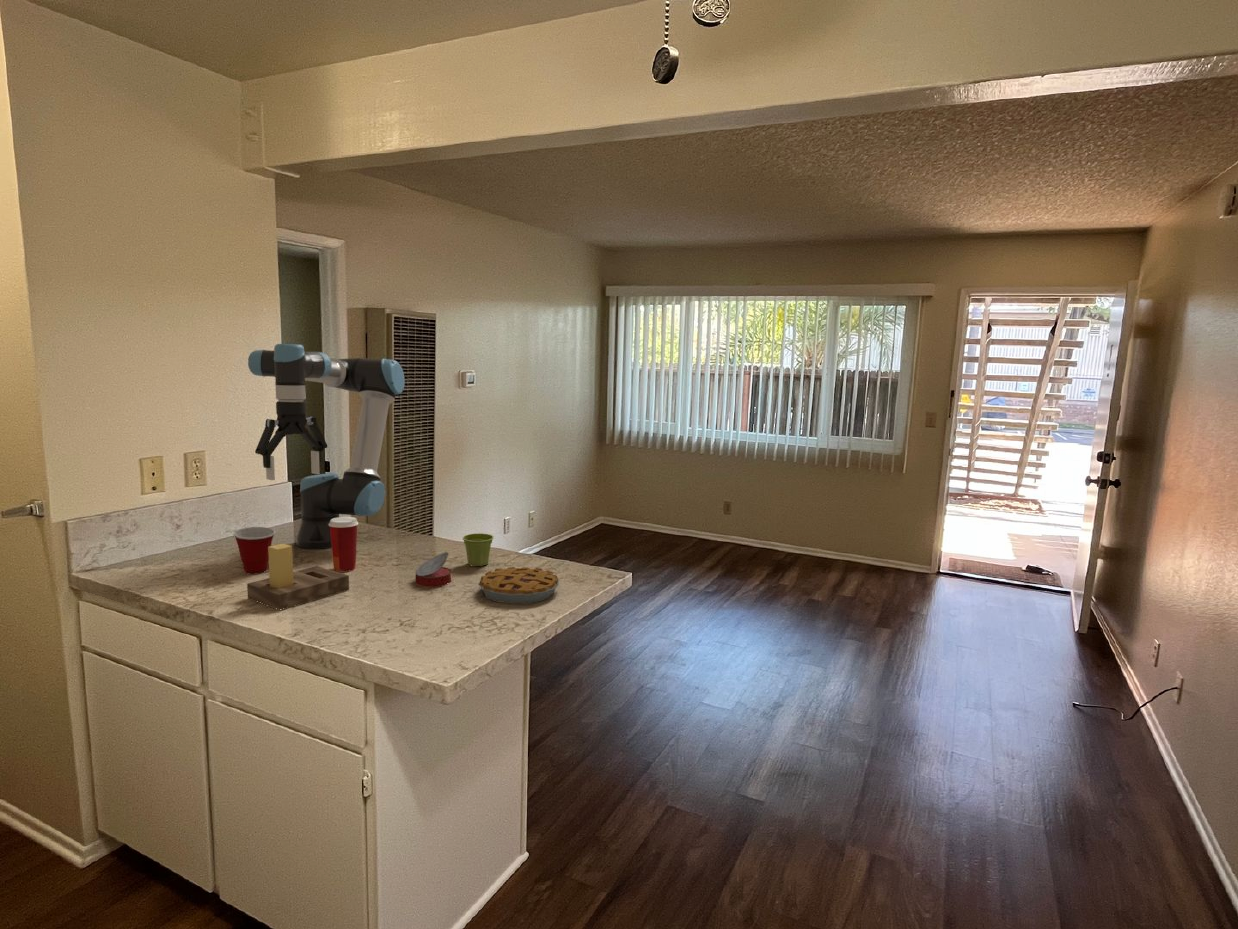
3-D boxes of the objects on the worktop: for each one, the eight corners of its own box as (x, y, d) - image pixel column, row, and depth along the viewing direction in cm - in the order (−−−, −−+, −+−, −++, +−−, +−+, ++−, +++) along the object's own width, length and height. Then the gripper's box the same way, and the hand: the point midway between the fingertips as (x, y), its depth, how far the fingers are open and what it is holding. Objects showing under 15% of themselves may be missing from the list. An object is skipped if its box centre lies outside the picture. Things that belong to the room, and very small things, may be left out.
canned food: (443, 602, 198) (439, 577, 192) (410, 594, 200) (405, 569, 194) (460, 573, 207) (456, 549, 201) (428, 567, 209) (424, 542, 203)
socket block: (317, 579, 199) (316, 566, 198) (349, 589, 191) (348, 575, 191) (247, 598, 182) (247, 583, 182) (279, 610, 175) (278, 594, 174)
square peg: (284, 595, 185) (282, 543, 183) (294, 598, 183) (292, 546, 181) (270, 599, 182) (268, 546, 180) (279, 602, 180) (277, 549, 178)
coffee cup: (364, 565, 213) (363, 517, 211) (351, 573, 205) (350, 523, 203) (337, 564, 214) (336, 515, 212) (323, 572, 206) (322, 521, 204)
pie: (467, 603, 185) (467, 584, 184) (492, 578, 206) (492, 561, 206) (549, 609, 182) (549, 590, 182) (566, 583, 204) (566, 566, 203)
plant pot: (490, 569, 214) (490, 541, 213) (459, 568, 214) (459, 540, 213) (496, 560, 223) (496, 533, 222) (466, 559, 223) (466, 532, 222)
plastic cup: (246, 579, 197) (244, 537, 195) (228, 571, 203) (226, 531, 202) (284, 571, 206) (282, 531, 204) (265, 563, 212) (264, 524, 210)
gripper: (322, 398, 207) (324, 469, 210) (238, 401, 186) (242, 480, 190) (338, 399, 203) (340, 472, 206) (254, 403, 182) (258, 484, 186)
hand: (293, 476), depth 198 cm, fingers open, 13 cm apart
